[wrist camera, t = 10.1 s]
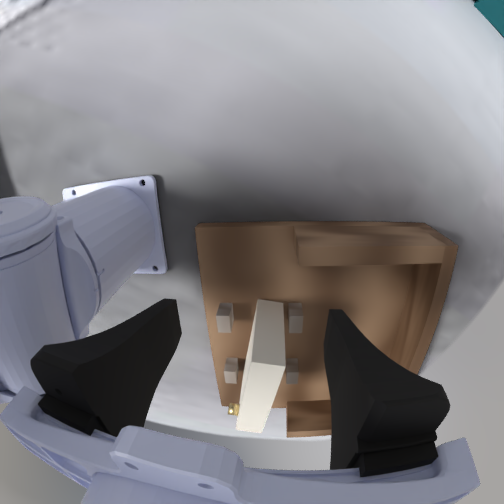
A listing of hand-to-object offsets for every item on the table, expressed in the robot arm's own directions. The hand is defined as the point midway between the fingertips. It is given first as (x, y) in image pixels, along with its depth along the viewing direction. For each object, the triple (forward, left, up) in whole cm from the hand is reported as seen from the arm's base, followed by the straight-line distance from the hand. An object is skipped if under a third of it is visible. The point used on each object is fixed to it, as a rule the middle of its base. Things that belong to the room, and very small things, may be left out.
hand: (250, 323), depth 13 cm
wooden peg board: (+6, -8, -9) cm, 13 cm away
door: (0, -8, -8) cm, 11 cm away
